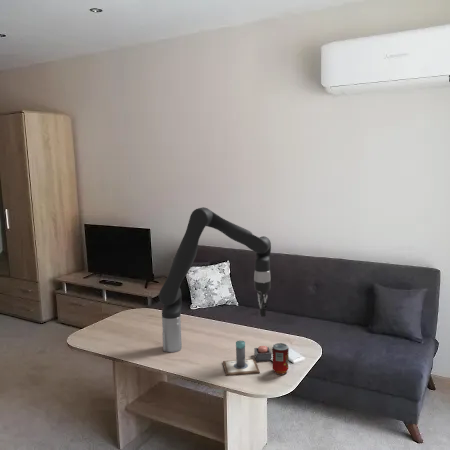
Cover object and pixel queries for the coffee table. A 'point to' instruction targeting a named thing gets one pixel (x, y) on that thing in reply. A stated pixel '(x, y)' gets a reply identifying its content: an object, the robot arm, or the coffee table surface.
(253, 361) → the board
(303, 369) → the coffee table surface
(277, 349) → the soda can
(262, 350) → the button
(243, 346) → the marker
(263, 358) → the button housing
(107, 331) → the coffee table surface
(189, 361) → the coffee table surface
